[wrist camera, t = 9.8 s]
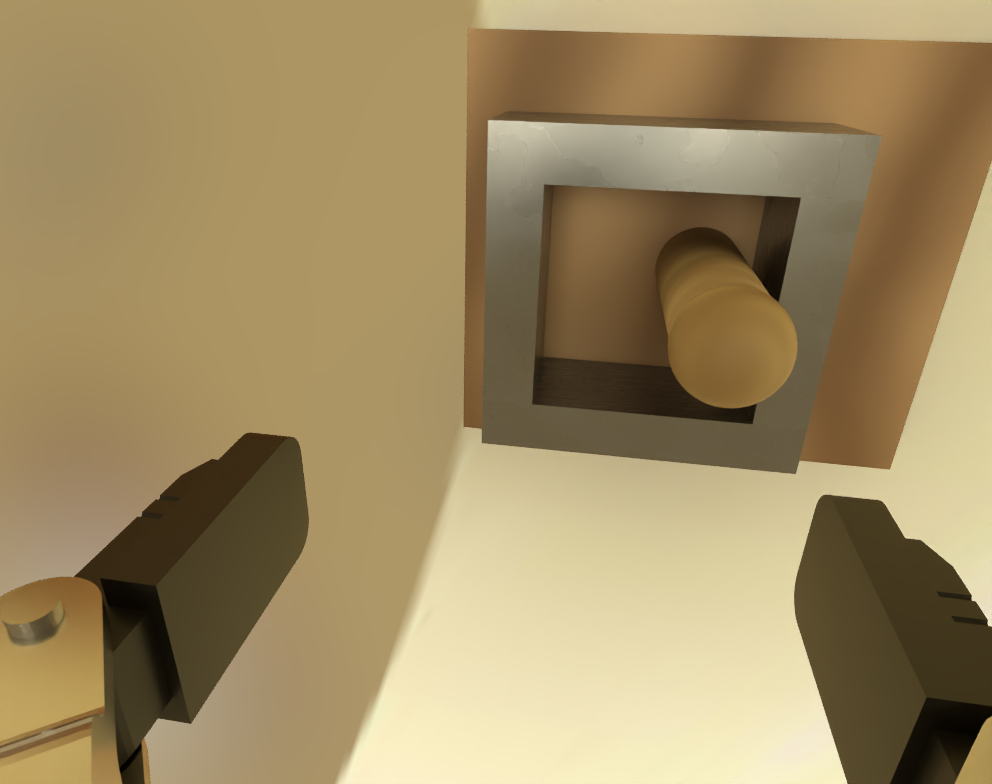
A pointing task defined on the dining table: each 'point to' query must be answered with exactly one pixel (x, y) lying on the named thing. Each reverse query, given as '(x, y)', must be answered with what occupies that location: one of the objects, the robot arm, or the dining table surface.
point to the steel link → (668, 167)
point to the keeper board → (743, 216)
